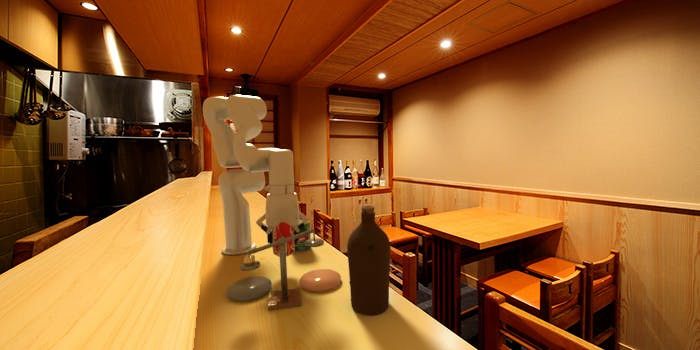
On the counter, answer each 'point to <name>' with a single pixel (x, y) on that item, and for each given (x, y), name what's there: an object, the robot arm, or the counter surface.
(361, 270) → the olive oil
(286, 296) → the balance
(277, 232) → the soda can
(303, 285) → the dish high
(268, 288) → the dish low
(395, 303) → the counter surface
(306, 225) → the canned tomato
